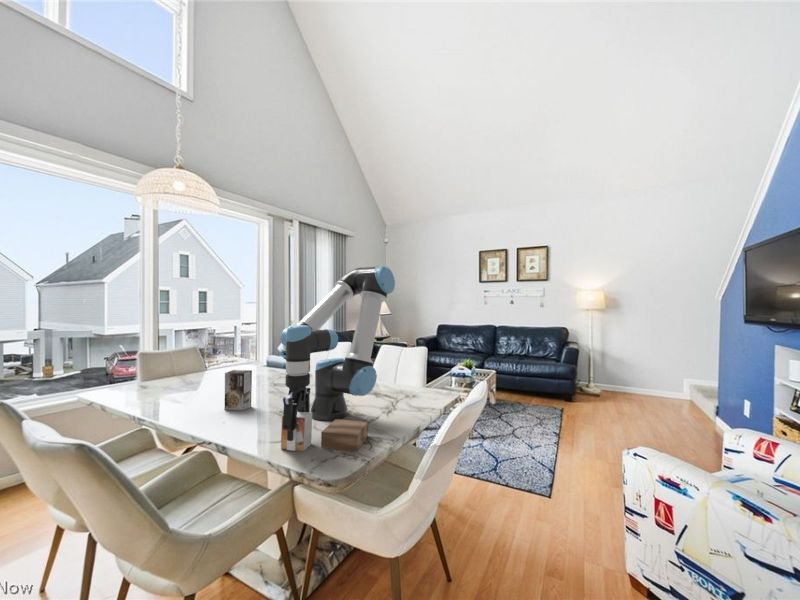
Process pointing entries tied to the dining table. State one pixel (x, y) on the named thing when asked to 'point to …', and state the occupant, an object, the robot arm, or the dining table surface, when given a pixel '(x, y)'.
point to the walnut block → (344, 435)
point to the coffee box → (238, 389)
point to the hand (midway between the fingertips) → (296, 445)
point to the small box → (300, 431)
